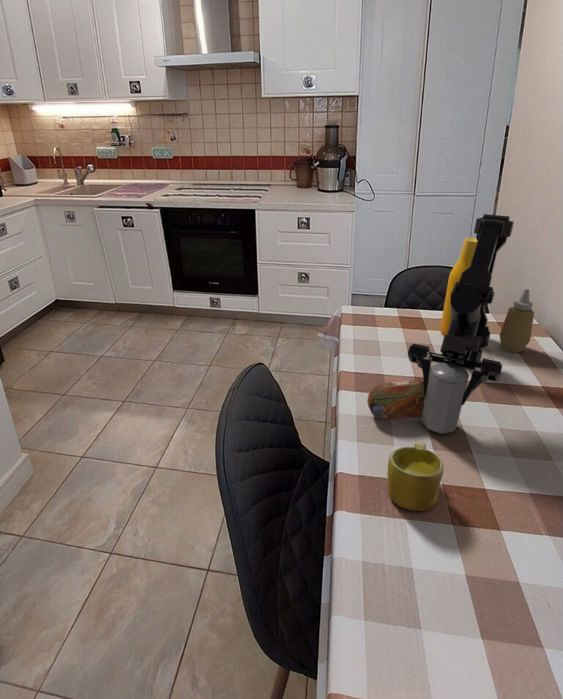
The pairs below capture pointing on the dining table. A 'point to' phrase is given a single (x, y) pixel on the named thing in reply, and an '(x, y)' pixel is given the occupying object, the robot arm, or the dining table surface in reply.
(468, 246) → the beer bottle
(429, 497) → the mug
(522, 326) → the squeeze bottle
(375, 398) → the tin
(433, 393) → the grey domed canister
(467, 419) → the dining table surface
